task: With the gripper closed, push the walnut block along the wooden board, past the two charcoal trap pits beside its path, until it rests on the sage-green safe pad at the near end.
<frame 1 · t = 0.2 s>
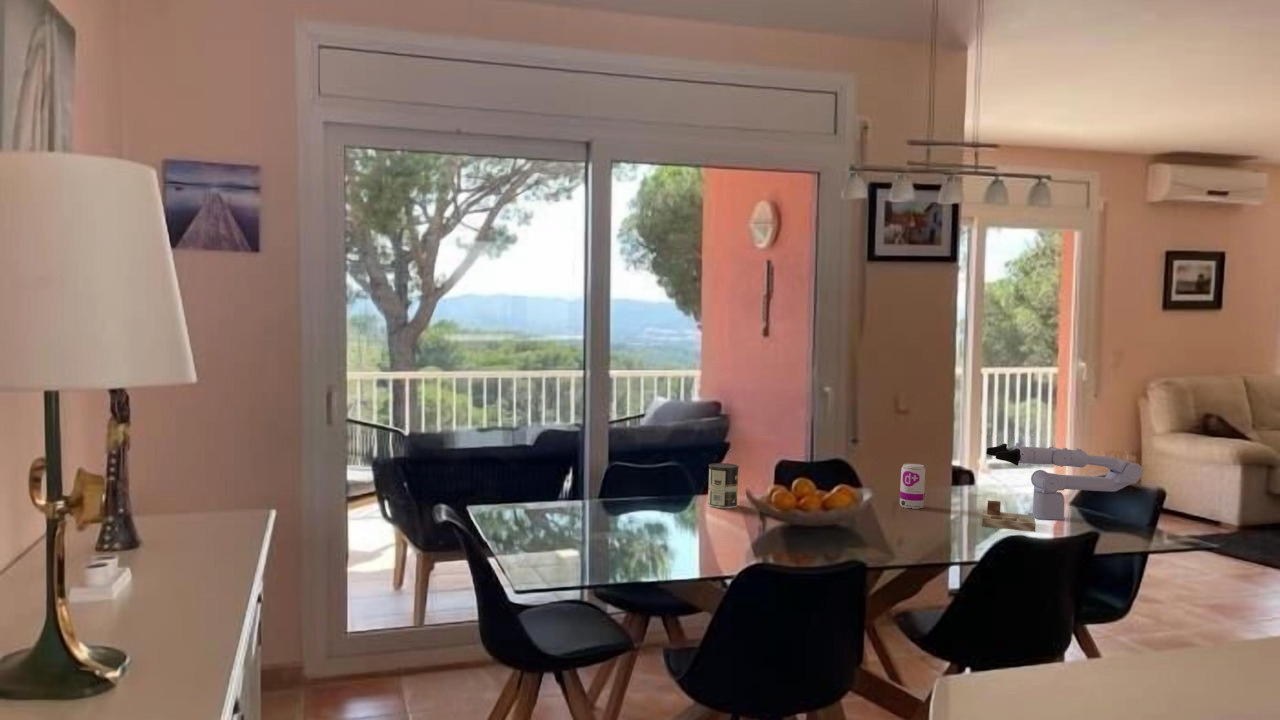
hand: (991, 453, 325), 22 cm above the table, tool horizontal, fingers open, 7 cm apart
walnut block: (993, 513, 318), point 2 cm above the table, touching wooden board
safe pad: (1026, 524, 315), on the table
wooden board: (1008, 524, 314), on the table
supplement can: (911, 507, 338), on the table
coffee can: (722, 506, 330), on the table
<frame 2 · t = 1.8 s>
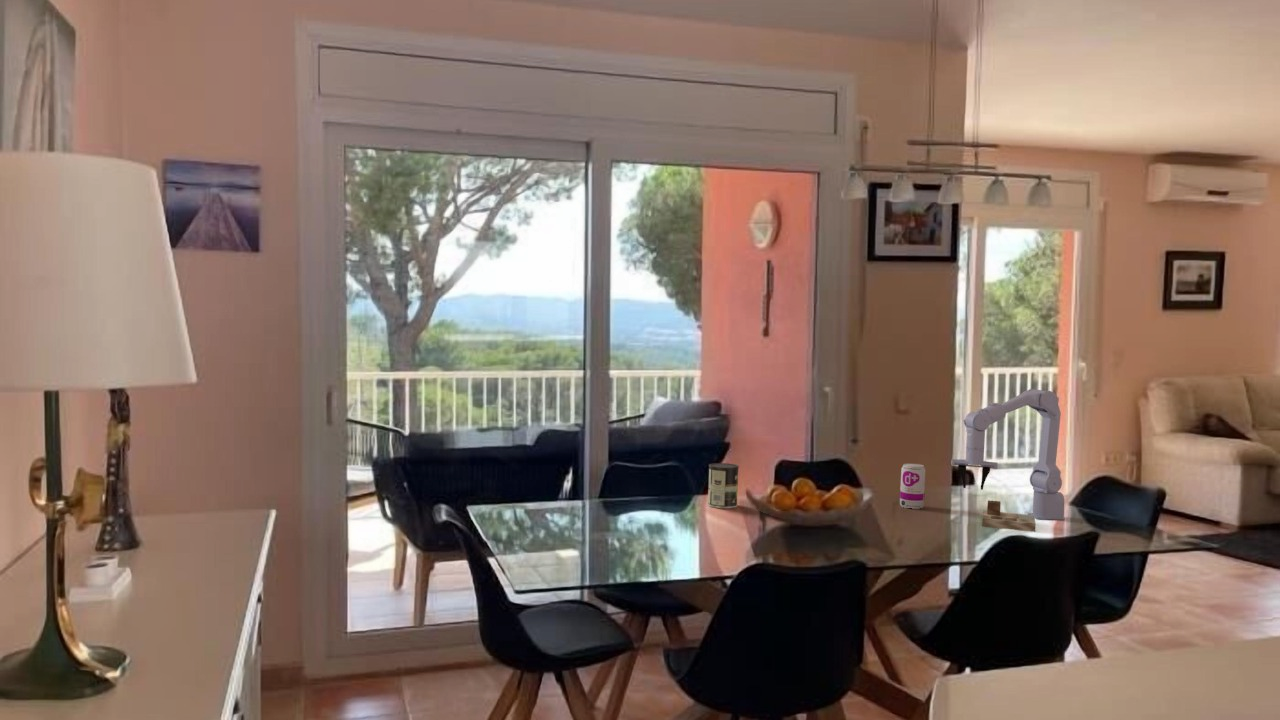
hand: (973, 488, 320), 10 cm above the table, tool pointing down, fingers open, 5 cm apart
nothing on the table moved.
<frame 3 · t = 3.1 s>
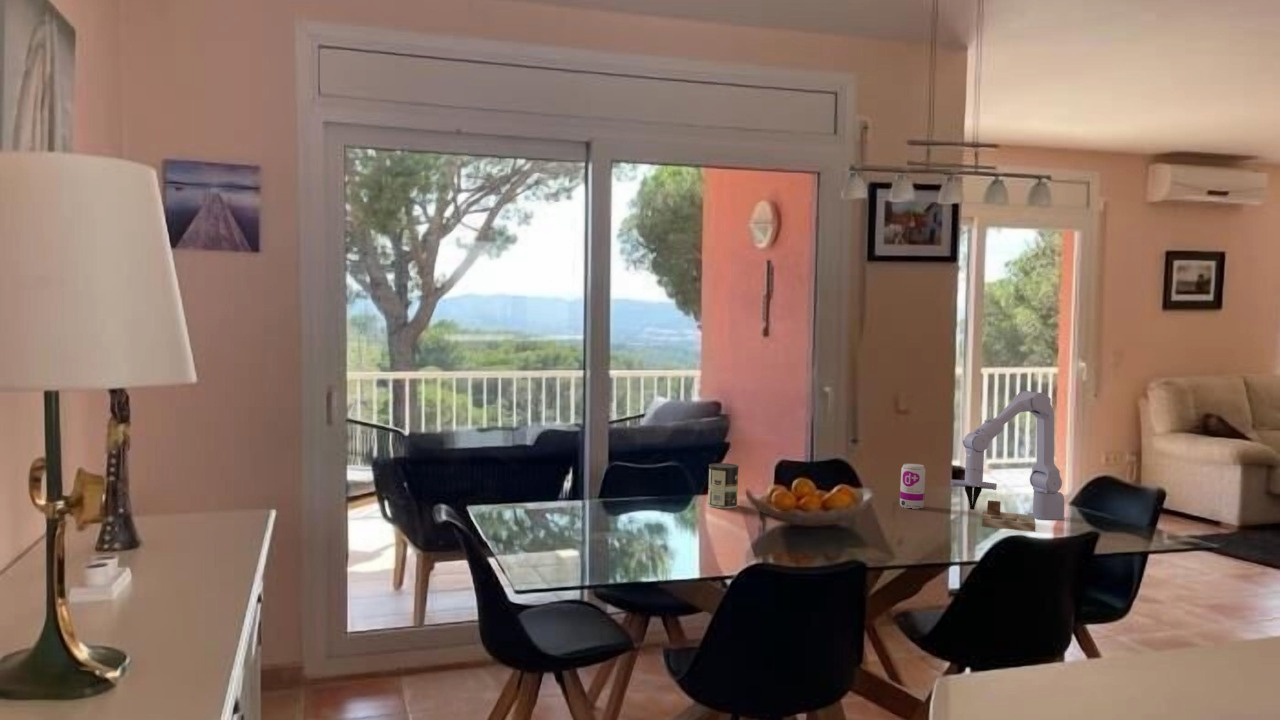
hand: (972, 509, 321), 3 cm above the table, tool pointing down, fingers closed
nothing on the table moved.
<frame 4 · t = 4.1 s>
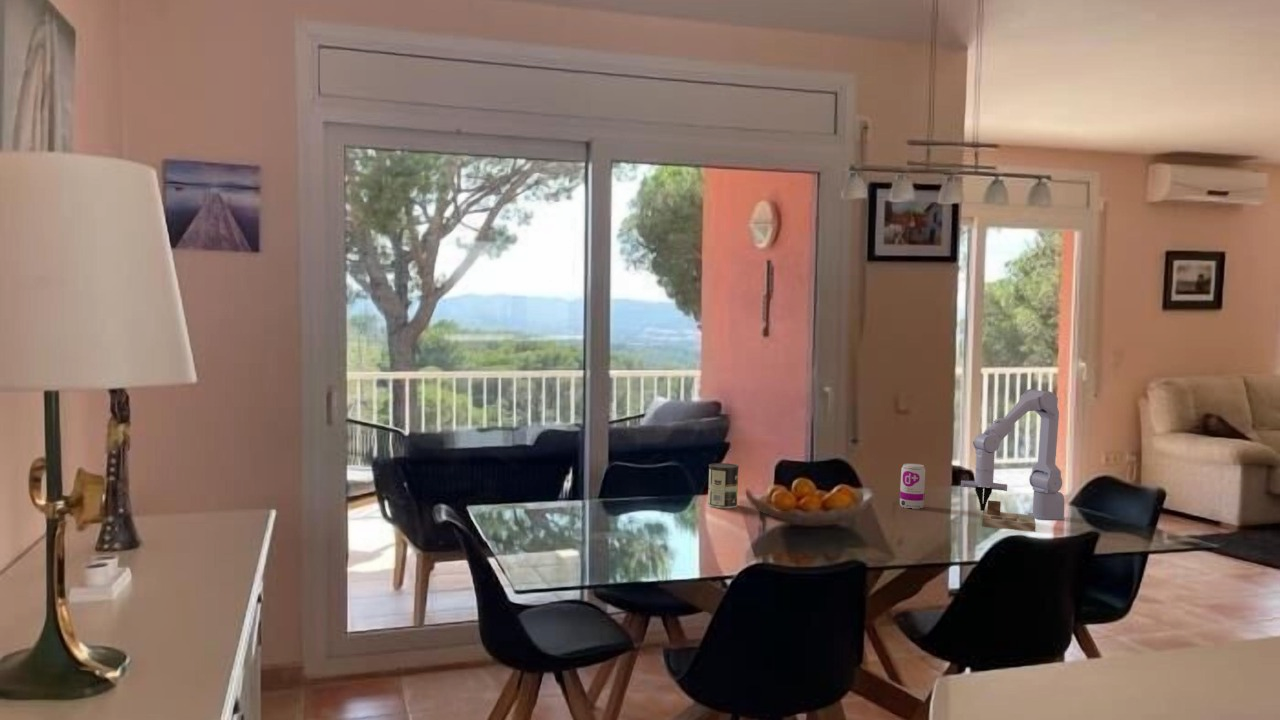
hand: (982, 510, 319), 3 cm above the table, tool pointing down, fingers closed
walnut block: (993, 513, 318), point 3 cm above the table, touching gripper, wooden board
everything else where it was.
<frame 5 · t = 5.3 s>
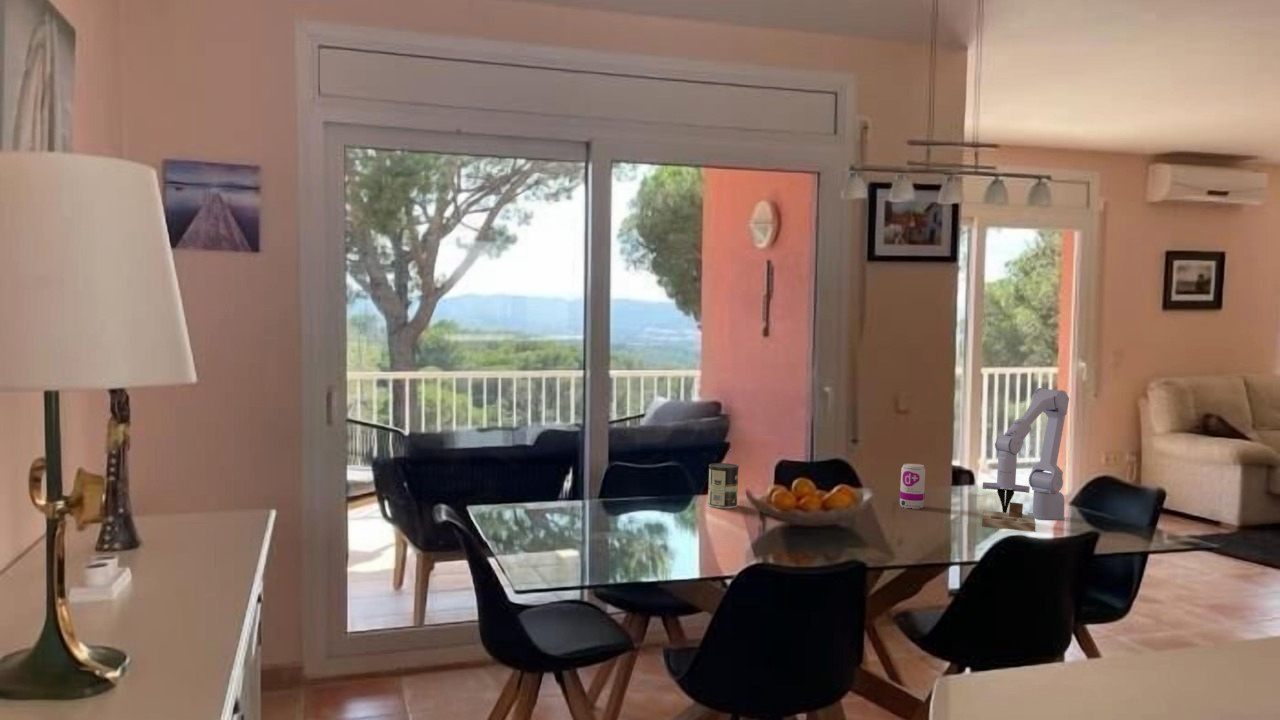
hand: (1004, 512, 317), 3 cm above the table, tool pointing down, fingers closed
walnut block: (1015, 515, 316), point 3 cm above the table, touching gripper
everything else where it was.
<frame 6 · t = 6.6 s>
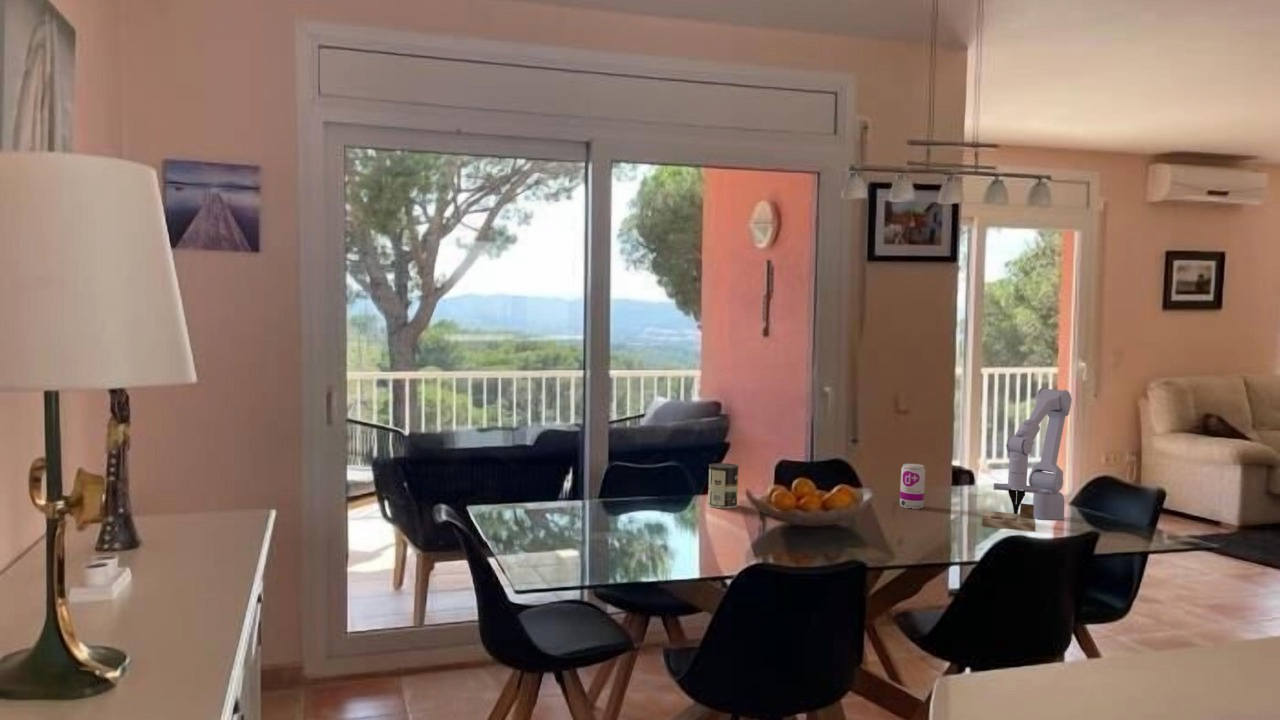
hand: (1015, 513, 316), 3 cm above the table, tool pointing down, fingers closed
walnut block: (1026, 517, 315), point 3 cm above the table, touching gripper, safe pad
everything else where it was.
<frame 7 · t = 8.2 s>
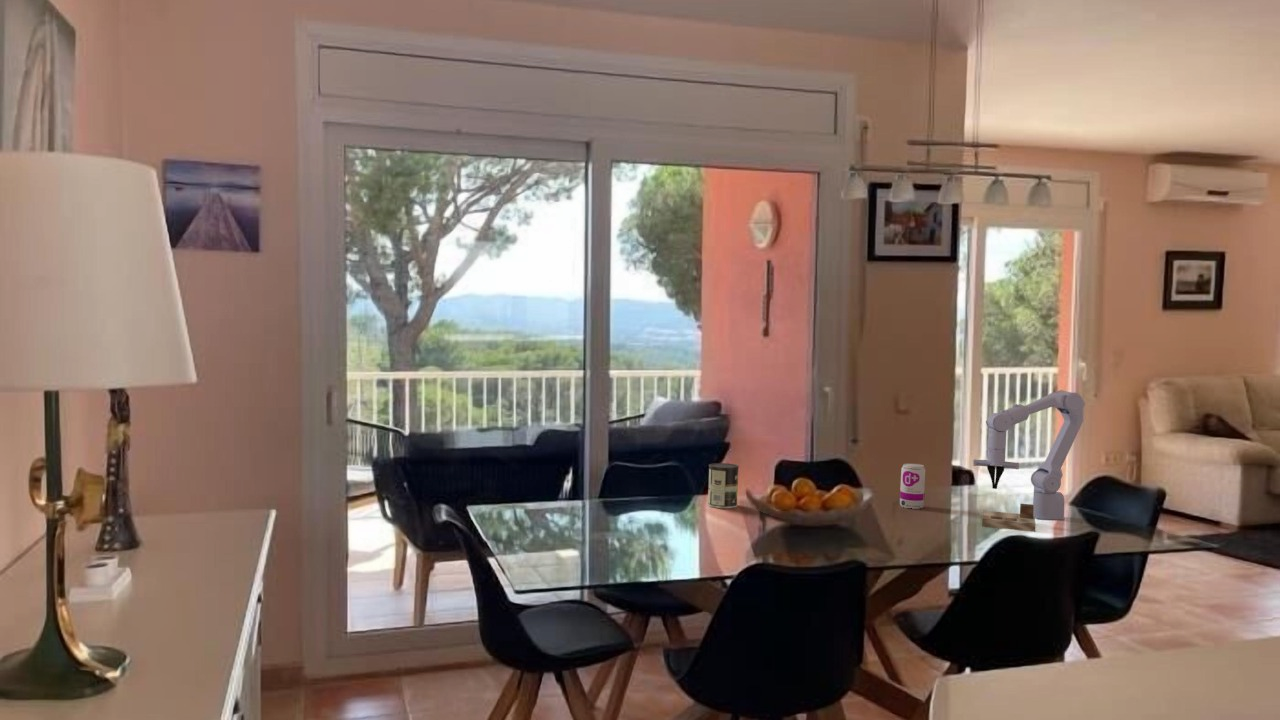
hand: (994, 488, 326), 10 cm above the table, tool pointing down, fingers closed
walnut block: (1026, 517, 315), point 2 cm above the table, touching safe pad
everything else where it was.
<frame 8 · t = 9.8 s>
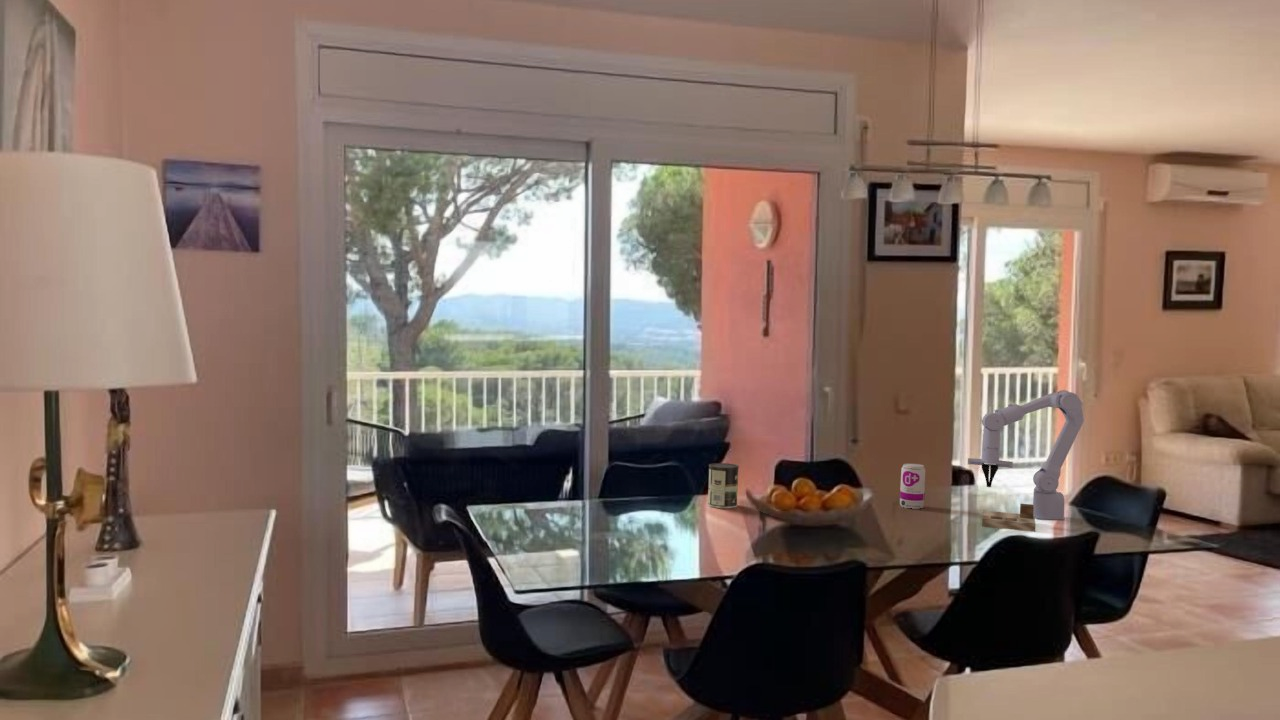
hand: (988, 486, 330), 9 cm above the table, tool pointing down, fingers closed
nothing on the table moved.
at the end: walnut block 0.1 cm from the safe pad (horizontally); walnut block point 2.5 cm above the table; walnut block tilted 0° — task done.
